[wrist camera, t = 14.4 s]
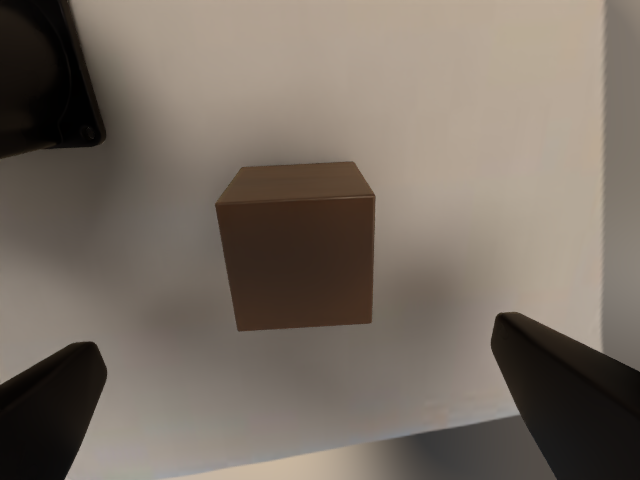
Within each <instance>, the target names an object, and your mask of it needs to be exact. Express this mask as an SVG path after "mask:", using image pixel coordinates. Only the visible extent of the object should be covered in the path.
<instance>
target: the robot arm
mask: <svg viewBox="0 0 640 480" xmlns="http://www.w3.org/2000/svg"><path fill="white" fill-rule="evenodd" d="M87 128H90V129H91V130H93V132H94V138H93V139H92V138H91V137H89V136H88V134H87ZM105 139H106V131H105V128H104V125H103V121H102V118H101V114H100V111H99V108H98V104H97V101H96V97H95V94H94V90H93V87H92V84H91V80H90V77H89V73H88V70H87V67H86V63H85V60H84V56H83V53H82V50H81V46H80V43H79V39H78V36H77V32H76V29H75V26H74V22H73V19H72V15H71V12H70V9H69V5H68V2H67V0H0V159H4V158H8V157H12V156H16V155H20V154H24V153H28V152H32V151H35V150H39V149H56V148H76V147H92V146H96V145H100V144H102V143H103V142H104V141H105ZM491 349H492V352H493V355H494V357H495V359H496V361H497V364H498V366H499V368H500V370H501V372H502V375H503V377H504V379H505V381H506V384H507V386H508V388H509V390H510V393H511V395H512V397H513V399H514V402H515V404H516V406H517V408H518V410H519V412H520V414H521V416H522V418H523V420H524V422H525V424H526V426H527V428H528V429H529V431H530V433H531V435H532V436H533V438H534V440H535V442H536V443H537V445H538V447H539V449H540V450H541V452H542V454H543V456H544V457H545V459H546V460H547V463H548V464H549V466H550V468H551V470H552V471H553V473H554V475H555V477H556V478H557V480H640V372H639V371H637V370H635V369H633V368H631V367H629V366H627V365H625V364H623V363H621V362H619V361H617V360H615V359H613V358H611V357H609V356H607V355H605V354H603V353H600V352H598V351H596V350H594V349H592V348H590V347H588V346H586V345H584V344H582V343H580V342H578V341H576V340H574V339H572V338H570V337H568V336H566V335H564V334H562V333H559V332H557V331H555V330H553V329H551V328H549V327H547V326H545V325H543V324H541V323H539V322H537V321H535V320H533V319H531V318H529V317H527V316H525V315H523V314H521V313H518V312H505V313H499V314H498V315H497V316H496V318H495V323H494V328H493V333H492V338H491ZM106 379H107V368H106V365H105V363H104V360H103V358H102V356H101V353H100V351H99V348H98V346H97V345H96V344H95V343H94V342H91V341H89V342H76V343H72V344H70V345H68V346H66V347H65V348H63V349H61V350H59V351H58V352H56V353H54V354H53V355H51V356H49V357H47V358H46V359H44V360H42V361H41V362H39V363H37V364H35V365H34V366H32V367H30V368H29V369H27V370H25V371H23V372H22V373H20V374H18V375H16V376H15V377H13V378H11V379H10V380H8V381H6V382H4V383H3V384H1V385H0V480H64V479H65V478H66V476H67V474H68V472H69V469H70V467H71V465H72V463H73V461H74V459H75V457H76V455H77V453H78V451H79V448H80V446H81V444H82V441H83V439H84V436H85V434H86V431H87V429H88V426H89V423H90V421H91V418H92V416H93V413H94V411H95V408H96V405H97V403H98V400H99V398H100V395H101V392H102V390H103V387H104V385H105V382H106Z"/></svg>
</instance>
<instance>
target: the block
mask: <svg viewBox="0 0 640 480" xmlns="http://www.w3.org/2000/svg"><path fill="white" fill-rule="evenodd" d="M215 208H216V213H217V219H218V224H219V230H220V235H221V241H222V247H223V252H224V258H225V263H226V269H227V274H228V280H229V286H230V291H231V297H232V302H233V308H234V313H235V319H236V324H237V330H238V331H255V330H271V329H287V328H303V327H320V326H336V325H352V324H368V323H371V322H372V304H373V267H374V230H375V194H374V193H373V191H372V190H371V188H370V186H369V185H368V183H367V182H366V180H365V179H364V177H363V175H362V174H361V172H360V171H359V169H358V167H357V166H356V164H355V163H354V162H334V163H315V164H295V165H276V166H256V167H242V168H241V169H240V170H239V172H238V173H237V175H236V176H235V177H234V179H233V180H232V181H231V183H230V184H229V185H228V187H227V188H226V190H225V191H224V192H223V194H222V195H221V196H220V198H219V199H218V200H217V202H216V203H215Z"/></svg>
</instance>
